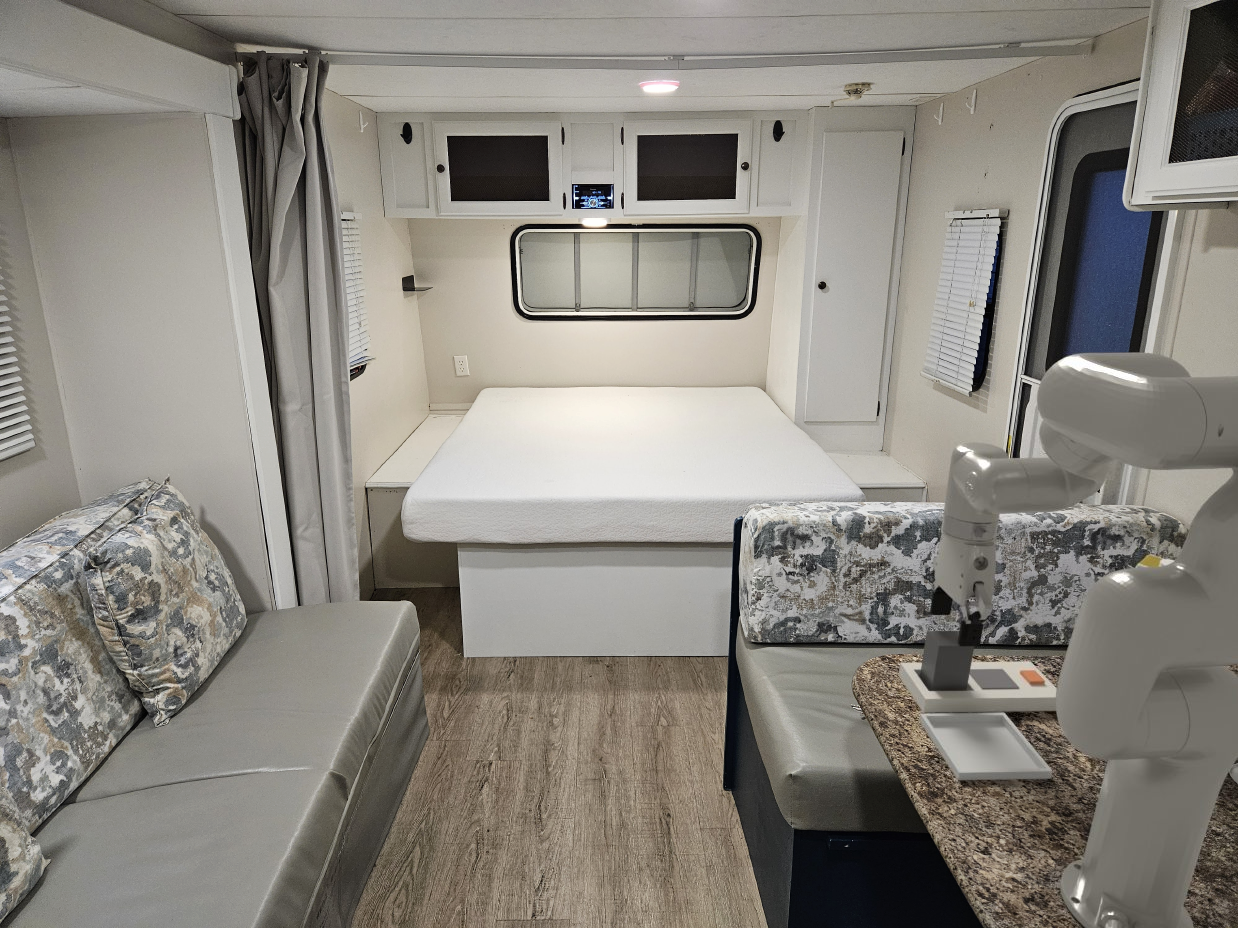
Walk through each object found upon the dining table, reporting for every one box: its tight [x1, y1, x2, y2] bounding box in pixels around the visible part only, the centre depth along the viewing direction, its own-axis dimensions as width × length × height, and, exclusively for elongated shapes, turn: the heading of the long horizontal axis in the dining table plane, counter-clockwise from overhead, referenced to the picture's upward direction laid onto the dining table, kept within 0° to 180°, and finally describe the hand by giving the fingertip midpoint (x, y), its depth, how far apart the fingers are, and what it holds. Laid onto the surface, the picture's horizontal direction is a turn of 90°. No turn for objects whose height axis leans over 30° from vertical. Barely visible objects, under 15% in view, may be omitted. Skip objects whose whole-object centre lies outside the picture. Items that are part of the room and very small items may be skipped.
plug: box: [920, 630, 975, 691], centre depth 124 cm, size 4×6×10 cm
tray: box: [918, 712, 1053, 781], centre depth 113 cm, size 13×13×2 cm
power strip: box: [898, 661, 1057, 714], centre depth 126 cm, size 10×22×4 cm, turn 92°
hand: (953, 629), depth 122 cm, fingers open, 9 cm apart
